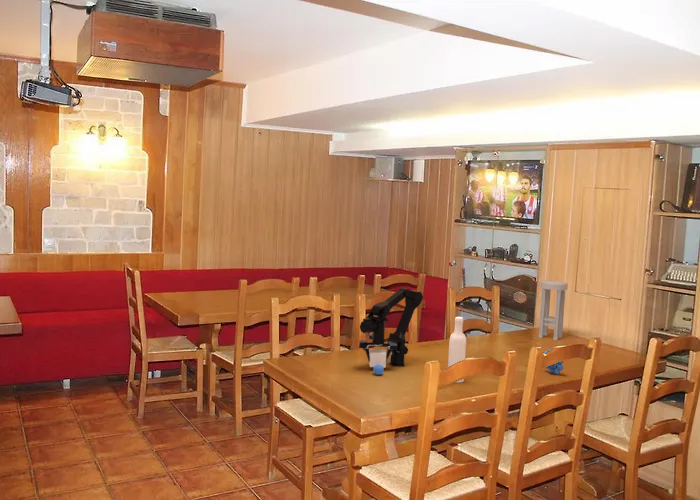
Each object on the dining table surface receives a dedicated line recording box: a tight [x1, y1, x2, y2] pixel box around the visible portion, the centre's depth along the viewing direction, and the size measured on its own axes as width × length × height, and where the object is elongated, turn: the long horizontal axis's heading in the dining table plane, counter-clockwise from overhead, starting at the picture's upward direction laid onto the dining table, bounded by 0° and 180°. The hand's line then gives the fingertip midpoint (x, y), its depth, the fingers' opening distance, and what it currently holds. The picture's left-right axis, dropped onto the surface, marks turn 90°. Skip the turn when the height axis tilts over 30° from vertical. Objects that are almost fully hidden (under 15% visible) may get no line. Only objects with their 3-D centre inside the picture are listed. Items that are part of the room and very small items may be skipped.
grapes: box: [543, 348, 564, 375], centre depth 332 cm, size 12×7×12 cm, turn 42°
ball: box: [372, 364, 385, 376], centre depth 317 cm, size 5×5×5 cm
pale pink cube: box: [368, 348, 387, 368], centre depth 327 cm, size 8×8×7 cm
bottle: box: [447, 316, 467, 384], centre depth 312 cm, size 8×8×30 cm
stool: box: [538, 279, 569, 341], centre depth 416 cm, size 16×16×35 cm
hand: (377, 362), depth 327 cm, fingers closed on pale pink cube, 8 cm apart
